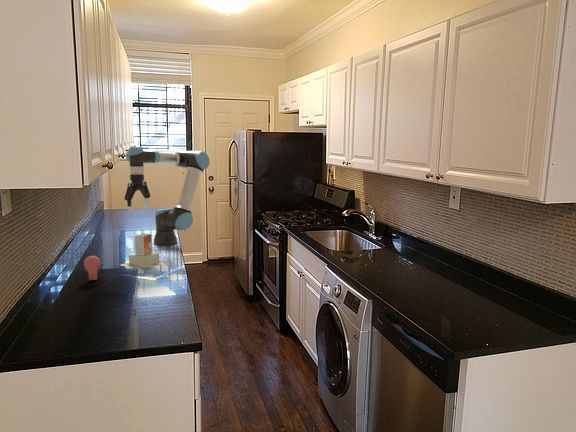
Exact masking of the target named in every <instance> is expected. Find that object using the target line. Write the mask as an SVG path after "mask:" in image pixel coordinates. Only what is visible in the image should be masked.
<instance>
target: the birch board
mask: <svg viewBox="0 0 576 432" xmlns="http://www.w3.org/2000/svg"><path fill="white" fill-rule="evenodd" d="M168 261H169V260H166V259H159V262H158V263H155V264H152V265H150V266H142V265H133V264H129V261H128V262H124V263H122V264H120V265H119V267H120V266H123V267H131V268H136V269H137V268H138V269H140V268H141V269H146V270H147V269H148V270H149V269H151V268H153V267H156V266H158V265H161V264H163V263H166V262H168Z"/></svg>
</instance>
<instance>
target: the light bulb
mask: <svg viewBox="0 0 576 432" xmlns="http://www.w3.org/2000/svg"><path fill="white" fill-rule="evenodd" d="M100 266H101V260H100V258H99V257H98V256H96V255H89V256H88V257H86V258H85V259H84V262H83V267H84V268H85V270H86V271H87V274H88V279H89V281H92V280H94V281H95V280H98V271H99V269H100Z"/></svg>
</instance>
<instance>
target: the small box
mask: <svg viewBox="0 0 576 432" xmlns="http://www.w3.org/2000/svg"><path fill="white" fill-rule="evenodd" d="M152 237H153V236H152V233H140V234H137V235H134V253H135V255H143V256H144V255H147V254H149V253H152V252H153V247H152V246H153V244H152V243H153V241H152V240H153V239H152Z"/></svg>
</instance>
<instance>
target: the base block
mask: <svg viewBox="0 0 576 432" xmlns="http://www.w3.org/2000/svg"><path fill="white" fill-rule="evenodd" d="M159 260H160V252H155V251H152V253H149V254H147V255H144V256H143V255H135V252H134V253H130V254H128V262H129V264H133V265H142V266H150V265H152V264H155V263H158V262H159Z"/></svg>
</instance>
